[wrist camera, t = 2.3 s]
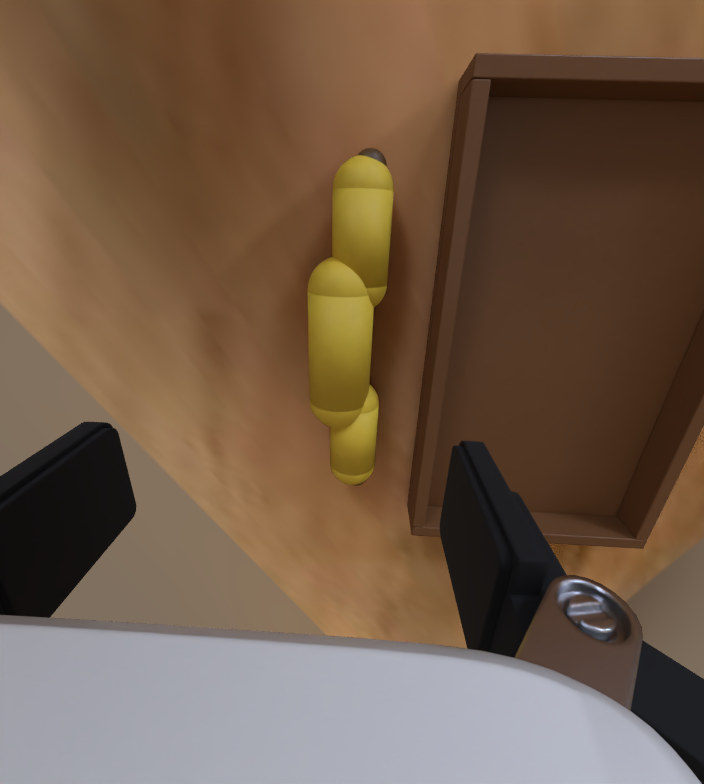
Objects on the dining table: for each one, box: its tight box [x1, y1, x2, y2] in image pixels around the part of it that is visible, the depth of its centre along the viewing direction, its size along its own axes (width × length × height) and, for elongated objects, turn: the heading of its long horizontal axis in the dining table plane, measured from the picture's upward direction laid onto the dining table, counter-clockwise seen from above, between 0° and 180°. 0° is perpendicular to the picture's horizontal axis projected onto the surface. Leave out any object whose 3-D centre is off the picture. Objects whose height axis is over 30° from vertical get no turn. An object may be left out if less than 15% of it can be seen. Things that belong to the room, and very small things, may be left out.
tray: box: [407, 53, 704, 549], centre depth 21 cm, size 26×16×3 cm, turn 178°
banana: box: [308, 148, 394, 485], centre depth 21 cm, size 20×4×4 cm, turn 178°
